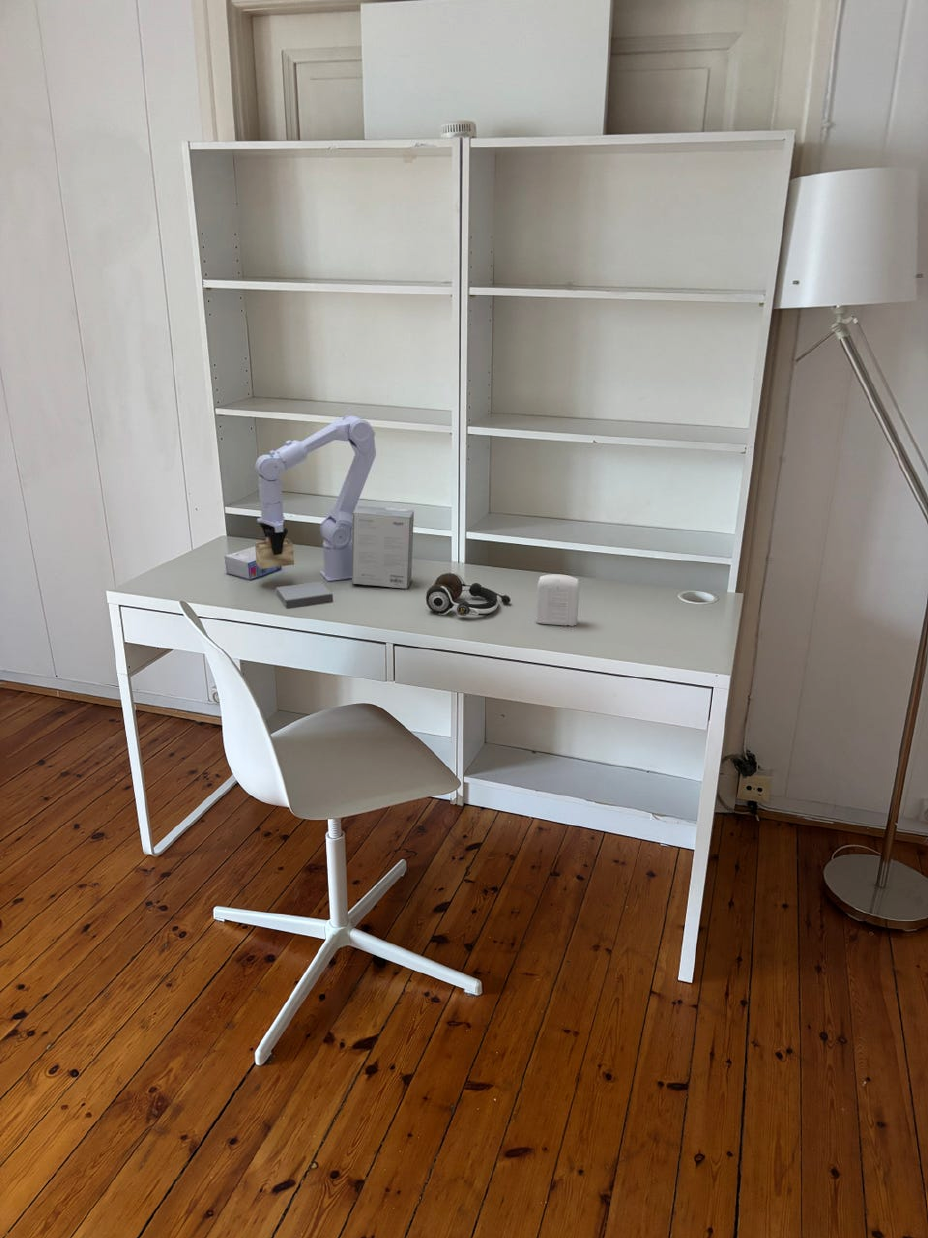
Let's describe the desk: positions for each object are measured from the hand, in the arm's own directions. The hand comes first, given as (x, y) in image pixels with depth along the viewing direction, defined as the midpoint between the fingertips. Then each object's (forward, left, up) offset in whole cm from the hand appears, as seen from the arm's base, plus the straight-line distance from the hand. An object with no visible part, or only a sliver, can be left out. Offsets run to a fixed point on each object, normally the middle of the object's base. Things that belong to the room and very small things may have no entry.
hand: (275, 551), depth 240 cm
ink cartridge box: (+9, -10, -7) cm, 15 cm away
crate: (0, 0, +2) cm, 2 cm away
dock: (-4, +13, -9) cm, 16 cm away
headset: (-40, +36, -10) cm, 55 cm away
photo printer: (-56, +54, -10) cm, 78 cm away
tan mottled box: (0, 0, -3) cm, 4 cm away
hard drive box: (-26, +11, -9) cm, 29 cm away
